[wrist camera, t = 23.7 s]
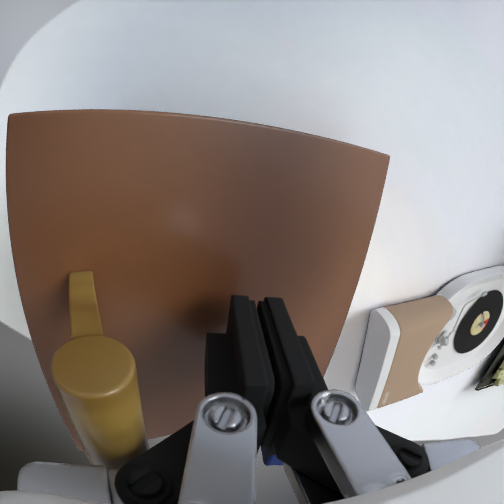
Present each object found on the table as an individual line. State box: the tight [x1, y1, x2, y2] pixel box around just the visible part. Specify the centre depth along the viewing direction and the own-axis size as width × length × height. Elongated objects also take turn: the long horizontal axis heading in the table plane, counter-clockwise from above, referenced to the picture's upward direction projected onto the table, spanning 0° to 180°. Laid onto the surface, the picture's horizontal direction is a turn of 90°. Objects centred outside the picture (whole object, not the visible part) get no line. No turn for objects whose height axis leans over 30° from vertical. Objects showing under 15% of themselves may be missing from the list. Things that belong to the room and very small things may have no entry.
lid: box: [6, 109, 390, 468], centre depth 9 cm, size 14×13×5 cm
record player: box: [355, 265, 504, 411], centre depth 22 cm, size 12×3×20 cm
